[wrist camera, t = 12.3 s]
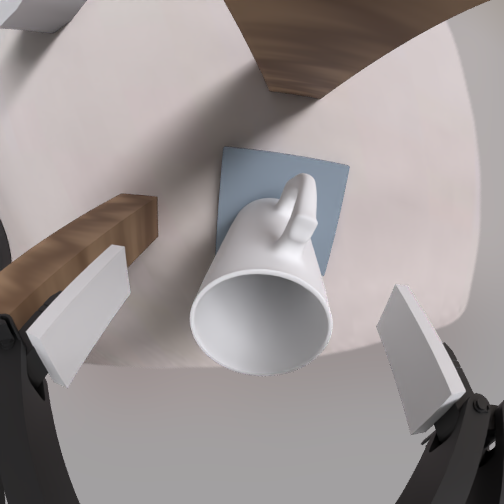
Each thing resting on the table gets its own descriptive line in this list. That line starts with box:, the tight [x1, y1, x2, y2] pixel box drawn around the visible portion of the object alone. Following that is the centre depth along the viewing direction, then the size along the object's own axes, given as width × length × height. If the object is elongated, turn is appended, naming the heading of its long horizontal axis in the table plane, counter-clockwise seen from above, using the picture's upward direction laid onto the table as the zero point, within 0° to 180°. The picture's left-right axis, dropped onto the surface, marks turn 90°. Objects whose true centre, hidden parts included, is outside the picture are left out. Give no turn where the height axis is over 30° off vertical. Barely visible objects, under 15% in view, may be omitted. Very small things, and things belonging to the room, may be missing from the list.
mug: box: [190, 173, 333, 376], centre depth 17 cm, size 10×7×12 cm, turn 160°
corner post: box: [0, 194, 158, 331], centre depth 15 cm, size 4×4×22 cm
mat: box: [215, 147, 349, 276], centre depth 23 cm, size 10×10×1 cm
